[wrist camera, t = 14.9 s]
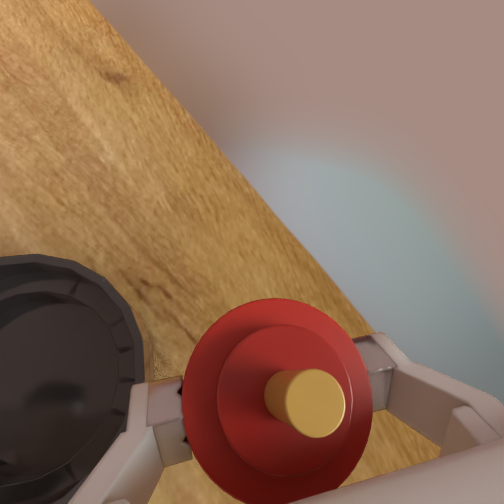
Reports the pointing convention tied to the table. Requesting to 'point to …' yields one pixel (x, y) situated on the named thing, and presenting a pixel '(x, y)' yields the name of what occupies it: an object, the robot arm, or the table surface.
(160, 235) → the table surface
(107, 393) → the bowl
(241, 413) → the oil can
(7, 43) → the table surface
